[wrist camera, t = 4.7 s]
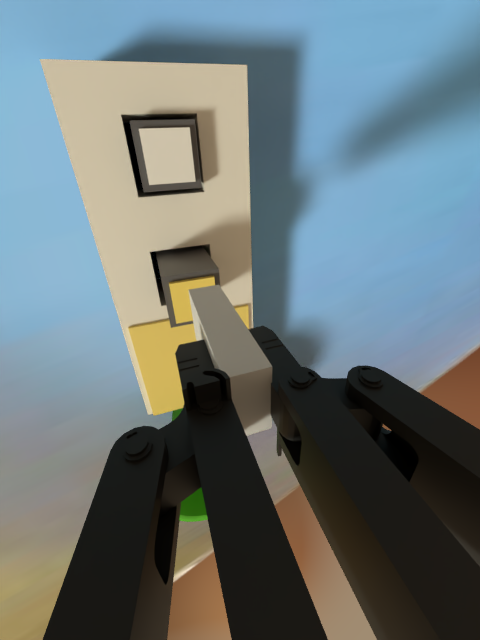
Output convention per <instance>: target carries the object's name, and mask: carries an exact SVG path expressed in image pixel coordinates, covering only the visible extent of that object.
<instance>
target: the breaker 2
mask: <svg viewBox="0 0 480 640" xmlns="http://www.w3.org/2000/svg"><path fill="white" fill-rule="evenodd" d="M156 256H157V261H158V266H159V271H160V276H161V281H162V286H163V291H164V296H165V301H166V306H167V311H168V316H169V321H170V326H171V328H173V327H178V326H183V325H188V324H193V317H192V310H191V304H190V297H189V291H188V290H190V289H195V288H201V287H207V286H213V285H220V276H219V268H218V267H217V265H216V264H215V263H214V261H213V260H212V259H211V257H210V256H209V255H208V253H207V252H206V250H205V249H204V248H203V246H202V245H199V246H191V247H184V248H176V249H168V250H160V251H156Z"/></svg>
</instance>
